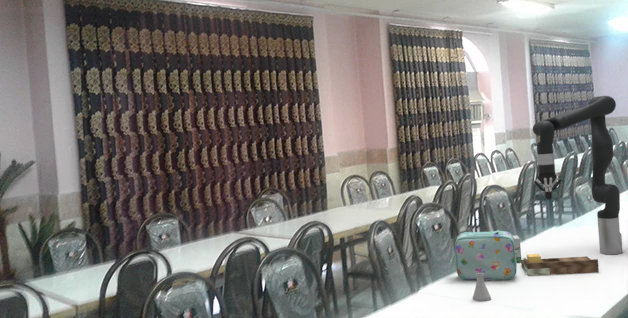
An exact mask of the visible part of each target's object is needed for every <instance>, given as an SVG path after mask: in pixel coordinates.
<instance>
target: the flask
mask: <svg viewBox="0 0 628 318" xmlns="http://www.w3.org/2000/svg"><path fill="white" fill-rule="evenodd" d="M476 276H477V279H476V284H475V289H474V292H473V295H472V300H474V301H476V302H486V301H491V300H492V297H491V294H490V292H489V290H488V288H487V286H486V283H485V280H484V278H483V276H484V274H483V273H477V274H476Z"/></svg>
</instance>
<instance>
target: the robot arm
mask: <svg viewBox="0 0 628 318" xmlns="http://www.w3.org/2000/svg"><path fill="white" fill-rule="evenodd" d="M616 106H617V104H616V101H615V99H614V98H613V97H612V96H609V95H601V96H599V95H598V96H594V97H592V98H590V100H589V102H588V105H585V106H582V107H579V108H575V109H571V110H567V111H564V112H562V113H560V114H559V113H558V114H557V115H555V116H552V117H549V118H545V119H542V120H539V121H536V122H535V123H534V124H533V127H532V132H533V134H535V135H536V136H538V137H539V141H538V142H537V143H536V153H537V156H536V160H537V161H536V163H537V178H536V179H535V180H533V181H532V182H533V184H534V185H535V186H536V187H537V188H538V190H540V191H541V192H544V198H545V199H546V200H547V201H549V200H551V199H552V198H553V193H552V192H553V191H556V190H557V188H558V187H559V186H560V184H561V182H562V181H563V180H562V179H561V178H559V177H558V176H557V174H556V165H555V155H554V147H553V143H554V138H555V131H561V130H563V129H568V128H569V127H572V126H574V125H576V124H579V123H581V122H584V121H586V120H589V121H590V132H591V133H590V135H591V155H592V156H591V157H592V158H591V159H592V180H591V195H592V199H593V200H594V201H595V202H596V203H601V204H604V208H603V209H600V210H598V211H597V212H596V214H597V215H596V216H597V228H598V231H597V232H598V245H599V252H600V253H599V254H603V255H619V254H623V251H624V250H623V237H622V233H621V230H620V216H619V215H620V211H621V210H620V209H621V205H620V203H621V200H620V199H621V198H620V197H621V194H620V190H619V188H618V186H617V185H615V184H613V183H606V173H607V170H608V168H609V167H610V164H611V163H612V161H613V158H614V143H613V140H612V137H611V135H610V133H609V130H608V127H607V124H606V116H607V115H608V116H609V115H610V114H612V113H614V111H615V109H616ZM540 183H541V184H542V185H543V187H542V185H541V184H540Z"/></svg>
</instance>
